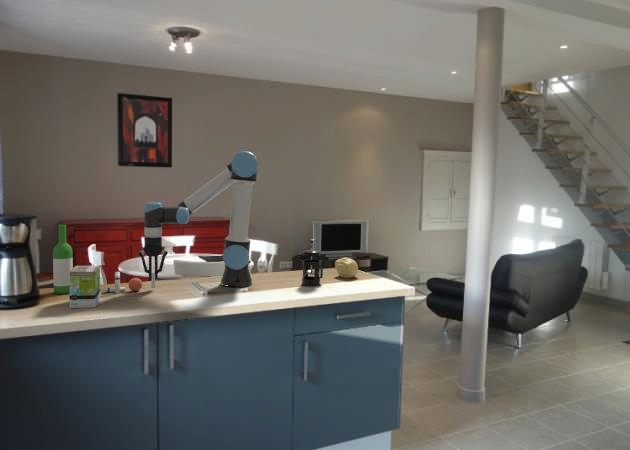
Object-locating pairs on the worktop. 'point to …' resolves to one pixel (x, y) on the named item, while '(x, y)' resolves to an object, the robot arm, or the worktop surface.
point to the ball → (135, 284)
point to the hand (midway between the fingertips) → (153, 287)
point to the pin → (117, 283)
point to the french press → (311, 279)
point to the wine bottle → (62, 263)
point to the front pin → (114, 289)
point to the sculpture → (346, 267)
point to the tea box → (84, 286)
